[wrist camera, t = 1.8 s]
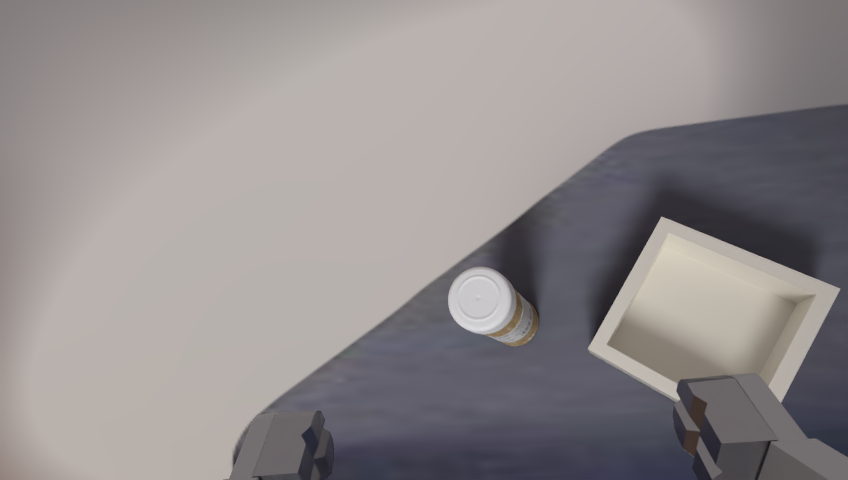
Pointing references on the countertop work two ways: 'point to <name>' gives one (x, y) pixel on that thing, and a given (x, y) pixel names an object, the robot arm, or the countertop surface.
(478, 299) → the sprinkles bottle
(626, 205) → the countertop surface
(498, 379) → the countertop surface
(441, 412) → the countertop surface
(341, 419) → the countertop surface
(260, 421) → the robot arm
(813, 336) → the box
